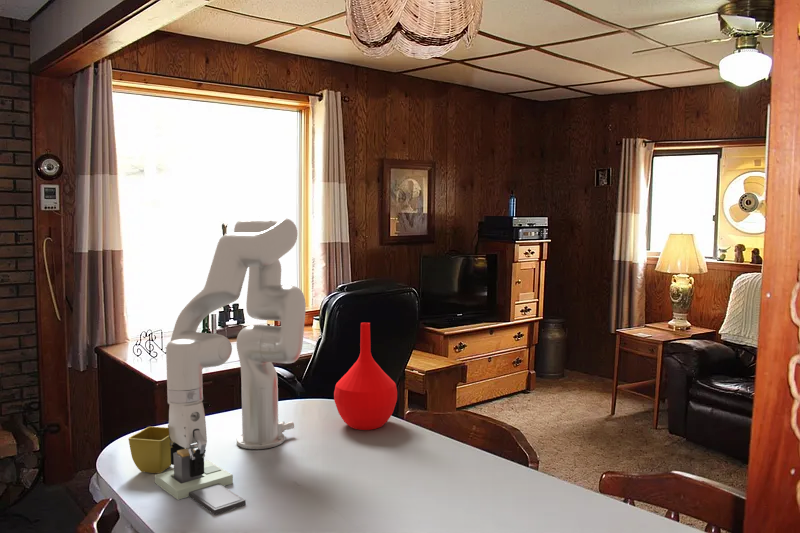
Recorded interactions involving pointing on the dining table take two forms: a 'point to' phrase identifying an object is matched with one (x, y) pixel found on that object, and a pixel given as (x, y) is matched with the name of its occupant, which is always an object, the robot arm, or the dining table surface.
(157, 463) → the flower pot
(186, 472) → the block
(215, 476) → the outlet plate
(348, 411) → the vase
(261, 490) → the dining table surface
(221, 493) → the phone slab
